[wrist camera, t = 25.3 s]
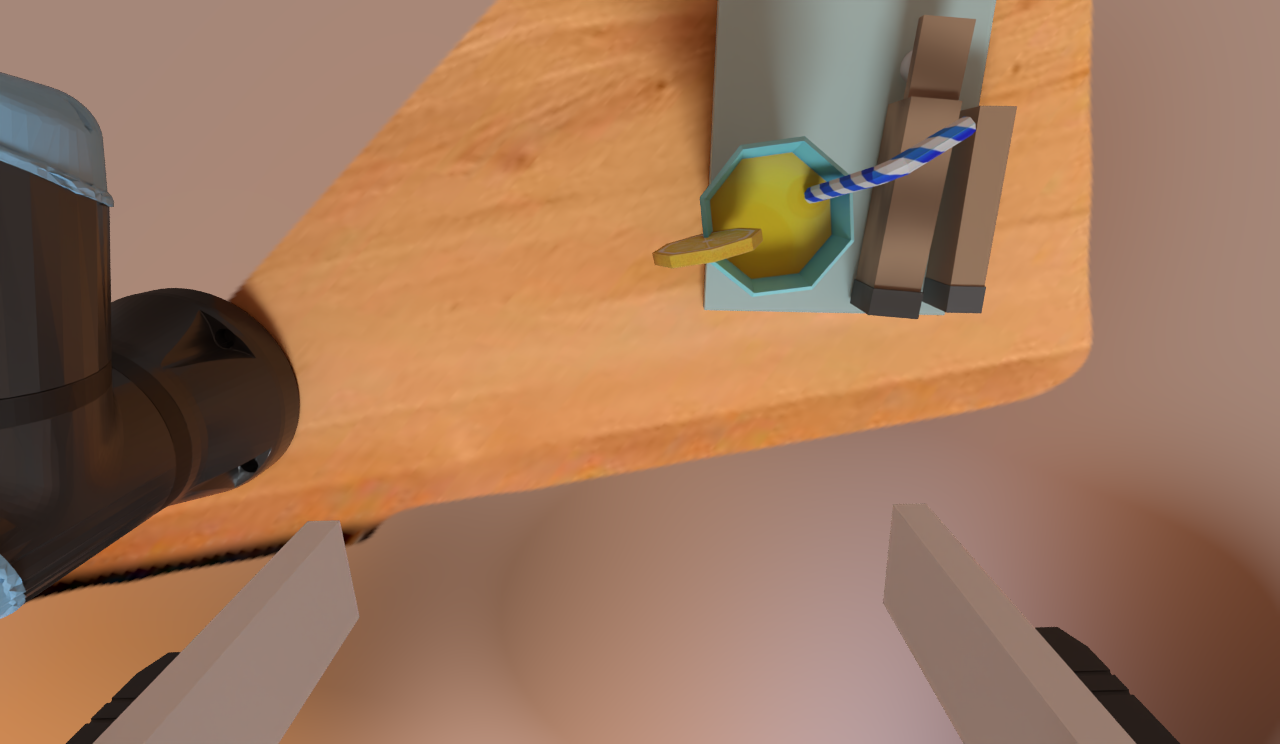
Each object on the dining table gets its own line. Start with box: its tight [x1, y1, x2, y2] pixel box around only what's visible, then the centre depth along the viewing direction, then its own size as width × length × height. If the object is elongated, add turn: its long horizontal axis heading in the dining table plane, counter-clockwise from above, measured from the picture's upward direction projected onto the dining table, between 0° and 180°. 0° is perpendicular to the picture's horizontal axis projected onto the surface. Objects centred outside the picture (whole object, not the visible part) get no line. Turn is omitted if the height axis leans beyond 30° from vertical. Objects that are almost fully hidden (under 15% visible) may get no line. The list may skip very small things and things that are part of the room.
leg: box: [850, 15, 976, 319], centre depth 36 cm, size 16×3×4 cm, turn 175°
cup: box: [652, 116, 976, 297], centre depth 32 cm, size 14×8×15 cm, turn 120°
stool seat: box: [703, 0, 1017, 315], centre depth 37 cm, size 16×20×5 cm
